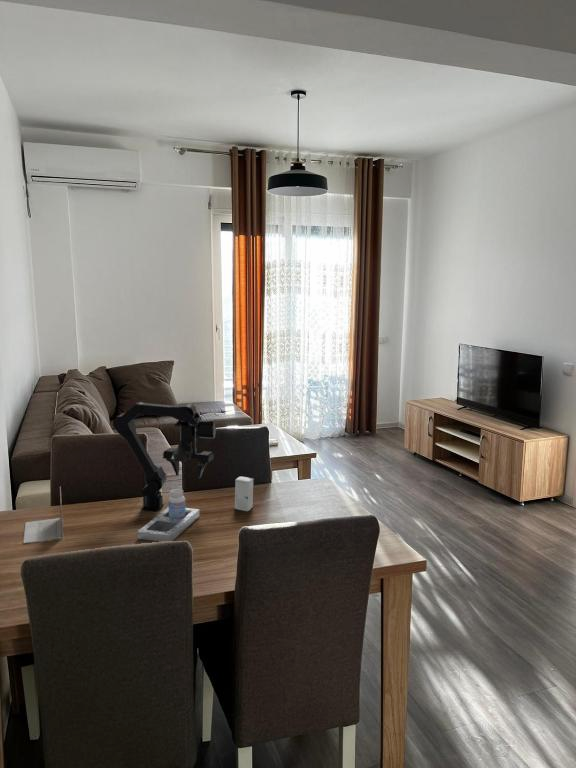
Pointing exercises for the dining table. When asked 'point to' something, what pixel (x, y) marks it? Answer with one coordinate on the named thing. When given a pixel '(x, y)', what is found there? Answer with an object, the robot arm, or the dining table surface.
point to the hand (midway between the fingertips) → (188, 476)
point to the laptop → (44, 529)
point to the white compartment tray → (167, 526)
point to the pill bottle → (176, 504)
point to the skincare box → (243, 493)
